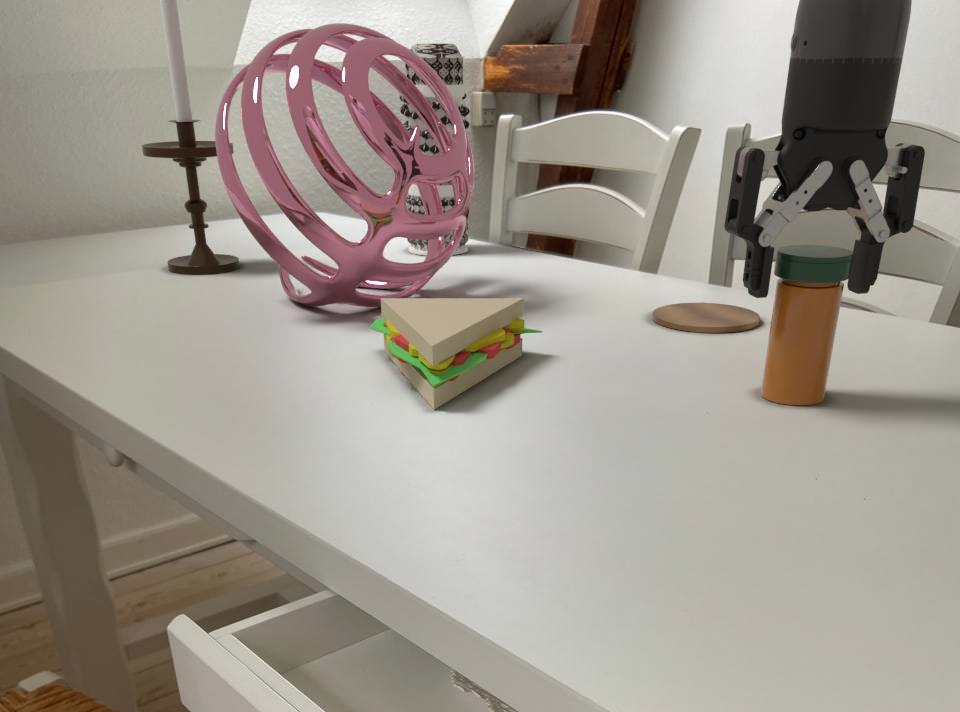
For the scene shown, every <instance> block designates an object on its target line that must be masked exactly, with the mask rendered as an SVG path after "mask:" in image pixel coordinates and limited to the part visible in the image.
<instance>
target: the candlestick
mask: <svg viewBox="0 0 960 712" xmlns="http://www.w3.org/2000/svg"><path fill="white" fill-rule="evenodd" d="M159 4H160V11H161V12H160V13H161V20H162V26H163V33H164V40H165V48H166V55H167V61H168V70H169V76H170V77H169V78H170V82H171V83H170V84H171V91H172V99H173V105H174V113H175V119H173V120H172V119H171V120H170V119H169V120H168V122H169V123H174V124H175V126H176V127H175V128H176V135H177V141H174V140H173V141H159V142H158V141H157V142H149V143H144V144H142V145H141V149H142V155H143V157H147V158H159V159H172V162H174V163H177V164H178V166H179V167H180V168H182V169H183V168H184V169H185V176H186V183H187V191H188V200H187V201H185V203H184V208H185V210H186V212H187V213H189V214H190V217H191V223H189V224H188V228H189V229H191V230H193V234H194V235H193V236H194V241H195V242H194V243H195V245H194V247H193V249H192V252H191V253H190V254H189V255H182V256H177V257H173V258H170V259H168V260H167V269H168V271H170V272H171V273H175V274H181V275H212V274H213V275H214V274H221V273H226V272H232V271H235V270H238V269H239V268H240V266H241V265H240V258H239V257H238V256H235V255H232V254H223V253H214V251H213V250H212V249H211V248H210V245H208V244H207V236H206V229H209V224H208V223H205V216H204V213H207V209H208V203H207V202H206V201H205V200H203V199H202V198H201V193H200V192H201V191H200V185H199V184H200V183H199V178H198V170H197V168H199V167H202V163H204V162H206V161H207V160H208V158H217V153H216V145H215V140H197V138H196V132H195V125H194V124H195V123H198V122H201V121H202V120H201V119H193V116H192V108H191V99H190V92H189V85H188V79H187V78H188V77H187V70H186V62H185V56H184V54H185V53H184V46H183V40H182V31H181V24H180V17H179V10H178V3H177V0H159ZM229 143H230V148H231V153H232V155H233V154H234V153H235V151H234V143H233V142H230V141H229Z"/></svg>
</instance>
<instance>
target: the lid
mask: <svg viewBox="0 0 960 712" xmlns="http://www.w3.org/2000/svg"><path fill="white" fill-rule="evenodd" d="M853 256H854V252H853V250H851V249H848V248H844V247H839V246H831V245H822V244H791V245H785V246H781V247H778V248H777V249H776V256H775V261H774V262H775V263H774V269H773V274H774V276H775V277H778V279H780V278H782V279H786V280H791V281H798V282H809V283H833V282H840V281H841V282H845V281H848V279H849V277H850V273H851V267H852V261H853Z"/></svg>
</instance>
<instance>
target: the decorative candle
mask: <svg viewBox="0 0 960 712" xmlns="http://www.w3.org/2000/svg"><path fill="white" fill-rule="evenodd" d="M409 49H410V50H411V51H413V52H414V53H416V54H417V55H418V56H420V57H421V58H422V59H423V60H424V61H425V62H426V63H427V64H428V65H430V67H431V68H432V69H433V70H434V71H435V72H436V73H437V74H438V75H439V77H440V78H441V79H442V81H443V82H444V83H445V85H446V86H447V88H448V89H449V91H450V93H451V94H452V96H453V98H454V100H455V102H456V104H457V106H458V109H459V111H460V114H461V117H462V120H463V123H464V127H465V129H466V130H467V129H468V128H469V127H470V121H468V120H467V119H466V117H467V116H468V115H469V114H470V108H468V106H466V105H463V101H464V100H465V99H466V98H467V94H466V93H465V84H464V59H465V57H464V56H463V55H462V53H461V52H460V50H459V48H458V46H457V45H456V44H454V43H414V44H413V45H412V46H411V47H410V48H409ZM404 68H405V71H404V72H405V75H406V76H407V77H408V78H409V79H410V80H411V82H412V83H413V84H414V85H415V86H416V87H417V88H418V89H419V91H420V92H421V93H422V94H423V95H424V97H425V98H426V99H427V101H428V102H429V103H430V105H431V106H432V108H433V109H434V110H435V112H436V114H437V115H438V117H439V118H440V120H441V122H442V123H443V124H444V125H445V126H446V128H447V129H448V130H449V132H450V133H451V135H452V136H453V137H454V130H453V125H452V123H451V121H450V119H449V117H448V115H447V114H446V112H445V110H444V108H443V107H442V105H441V104H440V102H439V101H438V99H437V98H436V96H435V95H434V94H433V92H432V91H431V90H430V88H429V87H428V86H427V85H426V84H425V82H424V81H423V80H422V79H421V78H420V77H419V76H418V75H417V74H416V73H415V72H414V71H413V70H412V69H411V68H410V67H409V66H408V65H407V64H406V63H405V62H404ZM399 100H400V101H401V102H402V103H404V104H403V105H401V106H400V110H399V112H400V114H401V115H403V116H404V117H406V118H407V119H405V121H404V122H402V124H403V125H404V126H405V128H406V129H407V130H408V132H409V133H410V135H411V134H412V132H413V129H414V127H415V125H416V124H419V128H420V136H419V149H420V150H421V152H422V154H423V155H427V156H440V155H441V153H440V151H439V149H438V147H437V145H436V143H435V141H434V139H433V137H432V135H431V134H430V132H429V130H428V129H427V127H426V126H425V124H424V123H423V121H422V120H421V118H420V117H419V115H418V114H417V113H416V111H415V110H414V109H413V108H412V106H411V105H410V104H409V103H408V102H407V100H406V99H405V98H404V97H403V96H402V95H401V94H400V93H399ZM436 186H437V189H438V192H439V196H440V200H441V204H442V210H443V212H446V211H448V210H450V209H451V208H453V207H454V206H455V200H454V193H453V188H452V184H451V180H450V181H449V182H446V183H443V184H438V185H436ZM406 204H408V205H410V206H409V208H407V209H408V210H409V211H411V212H413V213H418V214H425V215H426V213H425V209H424V205H423V202H422V198H421V195H420V193H419V190H418V187H417V185H416V183H413V184H412V185H411V187H410V188H409V191H408V195H407V197H406ZM468 230H469V223H468V222H467V224H466V227H465V231H464V233H463V236H462V238H461V240H460V243H459V245H458V246H457V248H456V250H455V252H454V253H453V255H452V256H456V255H461V254H465V253H466V252H468V251H469V248H468V245H467V244H466V243H468V242H469V235H468V233H467V231H468ZM453 231H454V230H453ZM453 231H452V232H450V233H449V234H447V235H445V236H444V244H443V250H444V249H445V248H446V246H447V245H448V243H449V241H450V239H451V237H452V234H453ZM406 240H407V242H408V243H409V244H410V246H408V252H409V253H411V254H413V255H419V256H426V255H427V250H428V240H414V239H408V238H406Z"/></svg>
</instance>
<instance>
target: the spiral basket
mask: <svg viewBox="0 0 960 712" xmlns="http://www.w3.org/2000/svg"><path fill="white" fill-rule="evenodd" d="M348 35H351V36H355V37H360V38H363V39H360V40H358V39H356V38H353V37H351V36H348ZM291 44H295V45H294V47H293V49H292V50H291V53H276V52H277V51H279V50H280V49H281V48H283V47H285V46H288V45H291ZM321 46H327V47H329V48H332V49H335V50H338V51H340V52H343V53H345V55H344V58H343V61H342V63H341V69H340V68H338V67H336V66H334V65H332V64H330V63H328V62H325V61H323V60H321V59H317V58H316V55H317V54H318V51H319V50H320V48H321ZM410 49H411V48H408V47H407V46H404V45H403V44H401V43H399V42H397V41H396V40H394V39H392V38H391V37H390V36H387V35H386V34H384V33H381V32H379V31H377V30H375V29H372V28H369V27H366V26H362V25H359V24H355V23H354V24H353V23H345V22H344V23H343V22H342V23H341V22H339V23H338V22H335V23H328V24H323V25H319V26H317V27H315V28H301V29H296V30H292V31H289V32H286V33H284V34H282V35H279V36H277V37H275V38H274V39H272V40H271V41H269V42H268V43H266V44H265V45H264V46H263V47H262V48H261V49H260V50H259V51H258V52H257V53H256V55H255V56H254V57H253V59H252V60H251V62H249V63H248V64H247V65H246V66H244V67H242V69H240V71H238V73H236V74H235V76H234V77H233V78H232V79H231V81H230V83H229V84H228V86H227V87H226V89H225V91H224V93H223V95H222V97H221V100H220V103H219V104H218V105H219V106H218V109H217V114H216V117H215V118H216V120H215V128H214V141H215V145H216V153H217V156H216V159H217V164H218V168H219V172H220V175H221V178H222V181H223V184H224V186H225V189H226V192H227V195H228V197H229V199H230V201H231V203H232V205H233V207H234V209H235V211H236V212H237V214H238V216H239V217H240V219H241V221H242V222H243V224H244V225H245V227H246V229H247V230H248V231H249V233H250V234H251V235H252V237H253V238H254V239H255V241H256V242H257V243H258V244H259V246H260V247H261V248H262V249H263V250H264V252H265V253H266V254H267V255H268V256H269V257H270V258H271V259H272V260H273V261H274V262H275V263H276V264H277V265H278V272H279V273H278V274H279V279H280V283H281V286H282V289H283V291H284V292H285V293H286V294H285V295H287V296H288V298H290V299H291V300H292V301H294V302H296V303H298V304H300V305H303V306H307V307H313V308H314V307H315V308H318V307H324V306H329V305H336V304H337V305H346V306H354V307H360V308H381V298H411V297H412V296H413V295H415V294H416V293H418V292H419V291H420V290H422V288H423V287H425V286H426V285H427V284H428V282H429V281H430V280H431V279H432V278H433V277H434V276H435V275H436V274H437V273H438V272H439V271H440V269H442V268H443V267H444V266H445V265H446V264H447V263H448V262H449V260H450V259H451V258H452V256H454V255H453V253H454V252H455V250H456V248H457V246H458V245H459V243H460V240H461V238H462V236H463V233H464V231H465V227H466V224H467V223H468V220H469V215H470V210H471V207H472V201H473V196H474V190H475V177H476V175H475V161H474V155H473V151H472V146H471V142H470V139H469V135H468V132H467V129H465V127H464V123H463V120H464V119H463V117H461V114H460V111H459V109H458V106H457V104H456V102H455V100H454V98H453V96H452V94H451V93H450V91H449V89H448V88H447V86H446V85H445V83H444V82H443V81H442V79H441V78H440V77H439V75H438V74H437V73H436V72H435V71H434V70H433V69H432V68H431V67H430V65H428V64H427V63H426V62H425V61H424V60H423V59H422V58H421V57H420V56H418V55H417V54H416V53H414V52H413V51H411V50H410ZM275 53H276V54H275ZM385 56H393V57H397V58H398V59H400V60H401V61H403V63H404V64H405V63H406V64H407V65H408V66H409V67H410V68H411V69H412V70H413V71H414V72H415V73H416V74H417V75H418V76H419V77H420V78H421V79H422V80H423V81H424V82H425V84H426V85H427V86H428V87H429V88H430V90H431V91H432V92H433V94H434V95H435V96H436V98H437V99H438V101H439V102H440V104H441V105H442V107H443V108H444V110H445V112H446V114H447V115H448V117H449V119H450V121H451V123H452V125H453V130H454V137H453V136H452V135H451V133H450V132H449V130H448V129H447V128H446V126H445V125H444V124H443V123H442V122H441V120H440V118H439V117H438V115H437V114H436V112H435V110H434V109H433V108H432V106H431V105H430V103H429V102H428V101H427V99H426V98H425V97H424V95H423V94H422V93H421V92H420V91H419V89H418V88H417V87H416V86H415V85H414V84H413V83H412V82H411V80H410V79H409V78H408V77H407V76H406V73H404V72H402V70H400V68H398V66H396V65H395V64H394V63H393V62H391V61H390V60H389V59H388V58H387V57H385ZM370 69H371V70H373V71H375V72H376V73H377V74H378V75H379V76H381V77H382V78H383V79H384V80H385V81H387V83H389V84H390V85H391V86H392V87H393V88H394V89H395V90H396V91H397V92H398V93H399V95H400V94H401V95H402V96H403V97H404V98H405V99H406V100H407V102H408V103H409V104H410V105H411V106H412V108H413V109H414V110H415V111H416V113H417V114H418V115H419V117H420V118H421V120H422V121H423V123H424V124H425V126H426V127H427V129H428V130H429V132H430V134H431V135H432V137H433V139H434V141H435V143H436V145H437V147H438V149H439V151H440V153H441V155H440V156H427V155H423V154H422V152H421V150H420V149H419V136H420V128H419V124H416V125H415V127H414V129H413V132H412V134H411V135H410V133H409V132H408V130H407V129H406V128H405V126H404V125H403V122H402V121H401V120H400V118H399V117H398V116H397V115H396V114H395V112H393V110H392V109H391V108H389V106H388V105H387V104H386V103H385V102H384V101H383V100H382V99H381V98H380V97H379V96H378V95H377V94H375V93H374V92H373V91H372V90H371V89H370V84H369V73H370ZM269 74H285V94H286V100H287V106H288V110H289V114H290V118H291V121H292V124H293V127H294V129H295V131H296V135H297V136H298V140H299V141H300V143H301V145H302V147H303V149H304V151H305V153H306V154H307V156H308V158H309V160H310V161H311V163H312V165H313V166H314V168H315V169H316V171H317V172H318V174H319V175H320V176H321V177H322V178H323V180H324V182H326V184H327V185H328V186H329V188H330V189H331V190H332V191H333V192H334V193H335V194H336V195H337V196H338V197H339V198H340V199H341V200H342V201H343V202H344V204H346V205H347V206H348V207H350V208H351V209H352V210H353V211H354V212H356V213H357V214H358V215H359V216H361V218H363V220H364V221H365V222H366V224H367V232H366V233H365V235H364V237H362V238H361V240H359V241H351V240H348V239H346V238H344V237H343V236H341V235H340V234H339V233H338V232H336V230H334V229H333V228H332V227H331V226H329V225H328V224H327V223H326V222H325V221H324V220H323V219H322V218H321V217H320V216H319V215H318V214H317V213H316V212H315V211H314V210H313V209H312V207H311V206H309V204H308V203H307V202H306V201H305V199H304V198H303V197H302V196H301V194H300V193H299V192H298V191H299V190H297V189H296V187H295V186H294V184H293V182H292V181H291V179H290V178H289V176H288V175H287V173H286V171H285V169H284V167H283V166H282V164H281V162H280V160H279V158H278V155H277V154H276V152H275V150H274V146H273V144H272V141H271V139H270V136H269V133H268V129H267V126H266V121H265V116H264V111H263V110H264V109H263V99H262V89H263V79H264V75H269ZM313 81H315V82H317V83H320V84H321V85H324V86H326V87H328V88H330V89H332V90H333V91H334V92H337V93H338V94H340V95H341V96H343V98H344V101H345V104H346V107H347V109H348V112H349V114H350V116H351V119H352V121H353V122H354V124H355V126H356V128H357V130H358V131H359V134H361V136H362V138H363V139H364V140H365V141H366V143H367V144H368V145H369V147H370V148H371V149H372V150H373V152H375V154H376V155H377V156H379V158H380V159H382V161H384V163H386V164H387V165H388V166H389V167H390V168H391V169H392V170H393V172H394V180H393V183H392V185H391V187H390V189H389V191H388V192H387V193H386V194H379V193H377V192H376V191H374V190H373V189H371V188H370V187H369V186H368V184H366V183H365V182H364V181H363V180H362V179H361V178H360V177H359V176H358V175H357V174H356V173H355V172H354V171H353V170H352V169H351V167H350V166H349V165H348V164H347V163H346V160H345V159H343V157H342V155H341V154H340V153H339V151H338V150H337V148H336V147H335V145H334V144H333V142H332V140H331V139H330V137H329V135H328V133H327V131H326V129H325V127H324V124H323V121H322V120H321V117H320V115H319V112H318V108H317V105H316V101H315V98H314V97H315V96H314V91H313ZM241 87H242V89H241V95H240V96H241V98H240V113H241V121H242V128H243V134H244V137H245V141H246V144H247V148H248V151H249V154H250V156H251V159H252V161H253V163H254V166H255V168H256V171H257V173H258V175H259V176H260V179H261V180H262V182H263V184H264V186H265V188H266V189H267V191H268V193H269V195H270V196H271V197H272V199H273V200H274V202H275V203H276V205H277V206H278V208H279V209H280V210H281V211H282V213H283V214H284V215H285V217H286V218H287V219H288V221H290V223H291V224H292V225H293V226H294V227H295V229H297V231H298V232H300V234H302V235H303V237H304V238H306V239H307V240H308V241H309V242H310V243H311V244H312V245H314V246H315V247H316V248H317V249H318V250H320V251H321V252H322V253H323V254H325V255H326V256H327V257H328V258H330V259H331V260H332V261H333V262H334V263H335V264H336V265H337V267H334V266H331V265H328V264H325V263H324V262H321V261H319V260H317V259H315V258H312V257H310V256H308V255H301V259H302V260H303V261H301V259H299V258H298V257H297V256H296V255H295V254H294V253H293V252H292V251H290V249H289V248H288V247H286V246H285V244H283V242H282V241H280V240H279V238H278V237H277V236H276V235H275V233H274V232H273V231H272V230H271V228H270V227H269V226H268V225H267V224H266V222H265V221H264V220H263V218H262V217H261V215H260V213H259V212H258V210H257V209H256V208H255V206H254V204H253V202H252V201H251V199H250V197H249V195H248V193H247V191H246V189H245V187H244V185H243V183H242V180H241V178H240V176H239V173H238V169H237V167H236V165H235V164H236V163H235V161H234V157H233V154H232V153H231V148H230V143H231V142H230V136H229V116H230V111H231V110H230V109H231V105H232V103H233V99H234V97H235V95H236V93H237V92H238V91H239V89H240V88H241ZM462 119H463V120H462ZM229 142H230V143H229ZM450 180H451V184H452V188H453V193H454V200H455V206H454V207H453V208H451V209H450V210H448V211H446V212H443V210H442V204H441V200H440V196H439V192H438V189H437V186H436V185H438V184H443V183H446V182H449V181H450ZM413 183H416V185H417V187H418V190H419V193H420V195H421V198H422V202H423V205H424V209H425V213H426V215H425V214H418V213H413V212H411V211H409V210H408V209H409V208H408V207H407V202H406V198H407V197H408V194H409V188H410V187H411V185H412V184H413ZM453 230H454V231H453ZM452 231H453V234H452V237H451V239H450V241H449V243H448V245H447V246H446V248H445V249H444V250H443V244H444V236H445V235H447V234H449V233H450V232H452ZM395 238H403V239H404V238H405V239H407V238H408V239H414V240H428V250H427V255H425V258H424V260H423V261H421V262H414V263H411V262H410V263H409V262H407V263H406V262H397V261H392V260H389V259H388V258H387V259H386V257H385V256H384V250H385V248H386V247H387V244H388V243H389V242H390V241H391V240H393V239H395ZM304 262H305V263H306V264H305V263H304ZM308 265H309V266H310V267H309V266H308ZM311 267H312V268H313V269H312V268H311ZM314 269H315V270H317V271H319V272H321V273H323V274H324V275H323V274H321V273H319V272H317V271H315V270H314ZM290 276H291V277H293V278H294V279H295V280H297V281H298V282H299V283H301V284H302V285H304V286H305V287H306V288H308V289H309V291H310V293H307V294H301V293H300V292H299V291H298V290H297V289H296V288H295V286H294V284H293V282H292V280H291V278H290ZM408 286H409V287H408ZM357 287H361V288H366V289H375V290H391V289H401V288H405V287H407V288H406V289H404V290H401V291H398V292H396V293H391V294H370V293H366V292H362V291H358V290H357V289H356V288H357Z"/></svg>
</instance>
